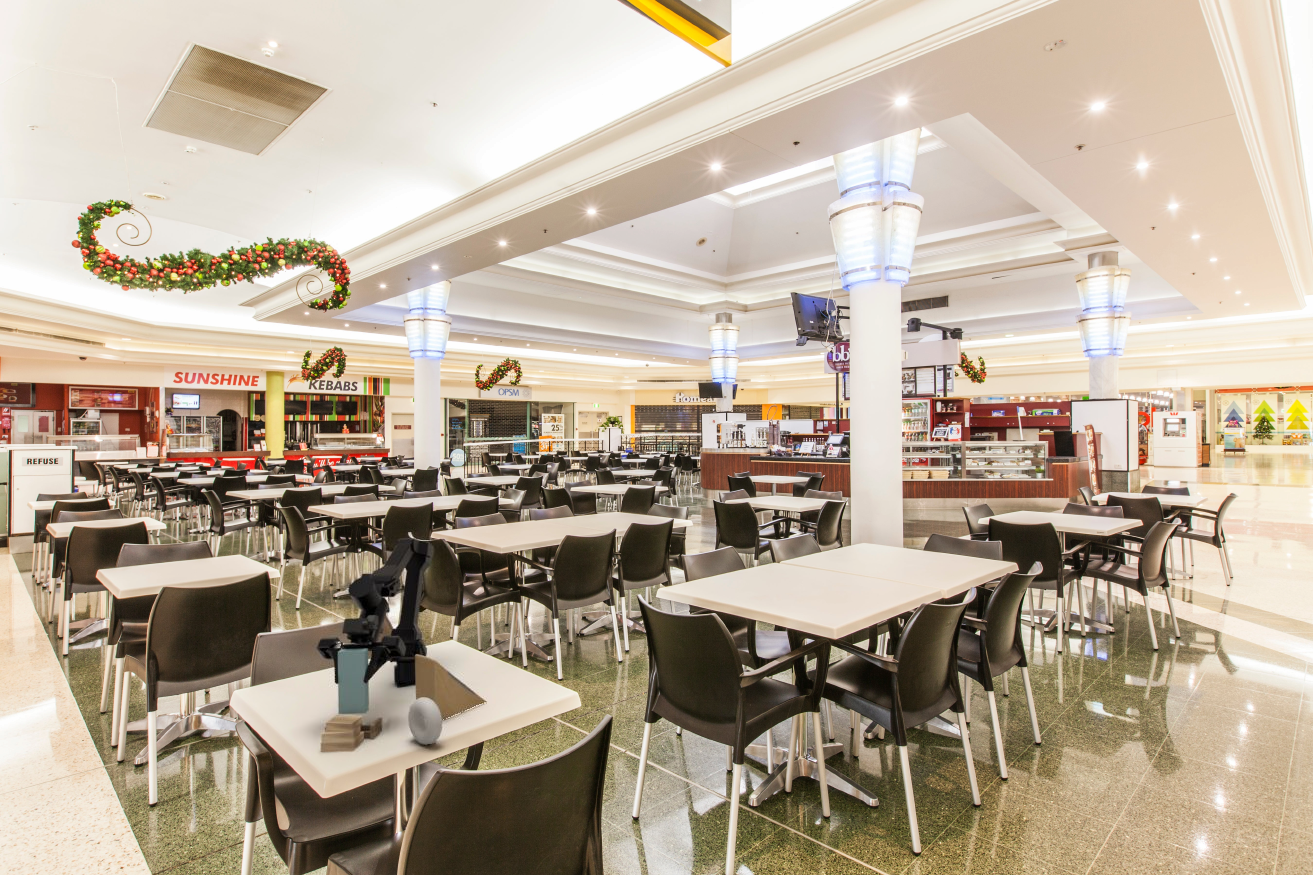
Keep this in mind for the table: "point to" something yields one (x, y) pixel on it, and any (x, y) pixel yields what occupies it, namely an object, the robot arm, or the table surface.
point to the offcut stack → (342, 734)
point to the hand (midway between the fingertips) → (350, 682)
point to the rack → (371, 729)
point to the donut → (425, 720)
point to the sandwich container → (443, 688)
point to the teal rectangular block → (352, 681)
